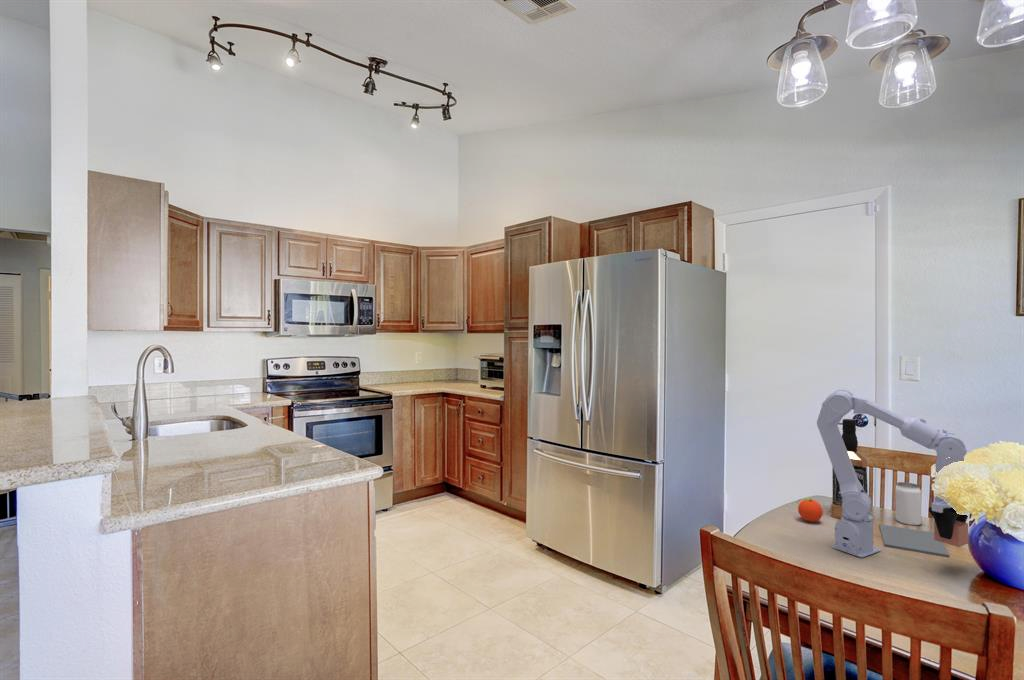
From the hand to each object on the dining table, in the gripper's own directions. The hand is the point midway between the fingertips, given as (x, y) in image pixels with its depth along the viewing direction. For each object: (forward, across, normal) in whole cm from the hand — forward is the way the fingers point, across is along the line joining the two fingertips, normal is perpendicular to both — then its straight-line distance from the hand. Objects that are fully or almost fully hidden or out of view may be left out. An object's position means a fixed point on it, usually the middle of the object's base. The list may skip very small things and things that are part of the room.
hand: (950, 535), depth 127 cm
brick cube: (+2, 0, 0) cm, 2 cm away
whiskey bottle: (+9, +18, +34) cm, 39 cm away
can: (+9, +28, +22) cm, 37 cm away
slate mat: (+8, +12, +14) cm, 20 cm away
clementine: (+9, +2, +38) cm, 39 cm away
